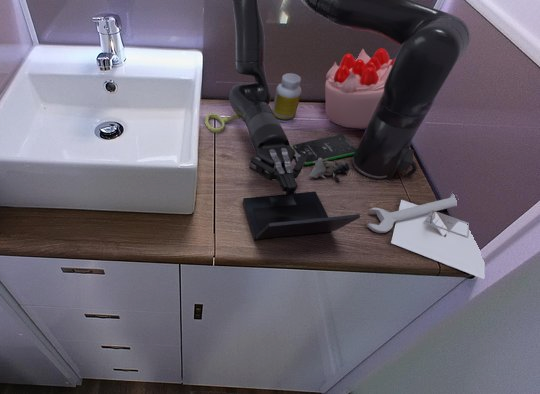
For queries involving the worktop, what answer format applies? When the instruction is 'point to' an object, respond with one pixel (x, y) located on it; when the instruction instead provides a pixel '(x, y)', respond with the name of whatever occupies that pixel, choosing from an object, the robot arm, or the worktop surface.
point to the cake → (356, 88)
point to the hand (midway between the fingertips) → (291, 190)
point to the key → (223, 121)
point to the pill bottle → (287, 98)
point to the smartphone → (325, 149)
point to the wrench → (408, 213)
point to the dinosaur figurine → (329, 168)
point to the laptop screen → (305, 226)
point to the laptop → (282, 210)
